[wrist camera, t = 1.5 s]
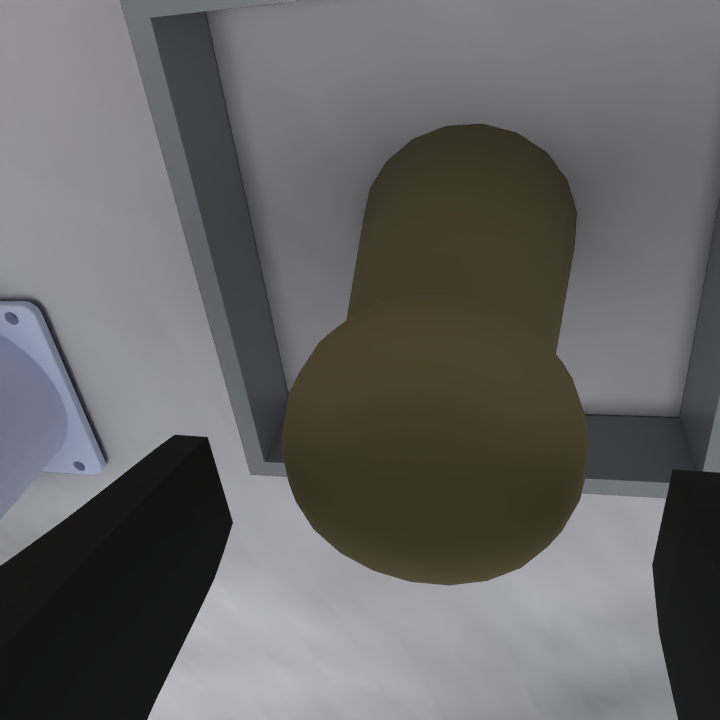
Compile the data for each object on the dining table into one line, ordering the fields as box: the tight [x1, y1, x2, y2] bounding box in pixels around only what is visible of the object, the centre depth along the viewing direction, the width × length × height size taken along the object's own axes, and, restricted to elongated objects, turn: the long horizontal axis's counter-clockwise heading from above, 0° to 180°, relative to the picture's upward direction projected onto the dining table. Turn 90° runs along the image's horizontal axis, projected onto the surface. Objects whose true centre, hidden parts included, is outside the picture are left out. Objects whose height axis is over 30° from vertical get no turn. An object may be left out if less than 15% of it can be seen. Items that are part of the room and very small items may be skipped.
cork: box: [281, 124, 589, 585], centre depth 15 cm, size 6×6×11 cm
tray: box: [120, 0, 720, 498], centre depth 18 cm, size 14×14×3 cm
